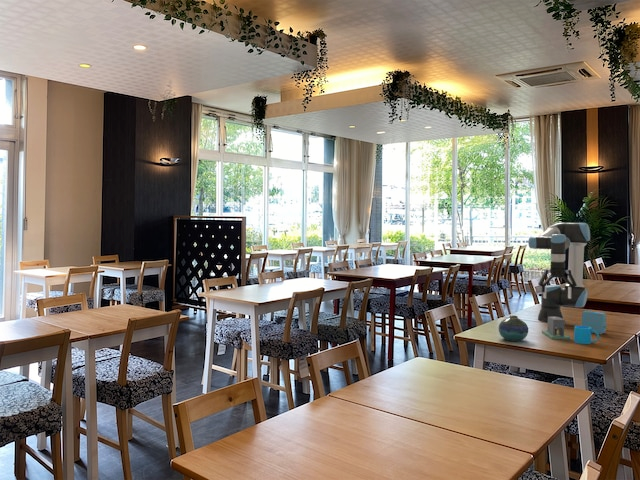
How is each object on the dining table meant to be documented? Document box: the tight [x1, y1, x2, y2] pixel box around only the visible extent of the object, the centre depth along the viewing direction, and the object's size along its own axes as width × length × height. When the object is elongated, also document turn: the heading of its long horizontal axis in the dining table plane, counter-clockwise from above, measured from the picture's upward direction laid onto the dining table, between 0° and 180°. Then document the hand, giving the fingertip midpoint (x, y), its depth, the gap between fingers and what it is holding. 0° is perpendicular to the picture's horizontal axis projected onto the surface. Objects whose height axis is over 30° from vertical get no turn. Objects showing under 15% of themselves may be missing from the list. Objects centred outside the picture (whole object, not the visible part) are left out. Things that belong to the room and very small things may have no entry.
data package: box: [580, 310, 607, 335], centre depth 293 cm, size 12×4×12 cm, turn 41°
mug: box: [573, 325, 600, 345], centre depth 268 cm, size 12×8×8 cm
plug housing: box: [546, 317, 566, 336], centre depth 283 cm, size 9×6×9 cm, turn 174°
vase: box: [497, 314, 529, 342], centre depth 273 cm, size 15×15×13 cm
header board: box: [541, 328, 571, 340], centre depth 283 cm, size 16×10×4 cm, turn 174°
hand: (557, 298), depth 284 cm, fingers open, 13 cm apart
